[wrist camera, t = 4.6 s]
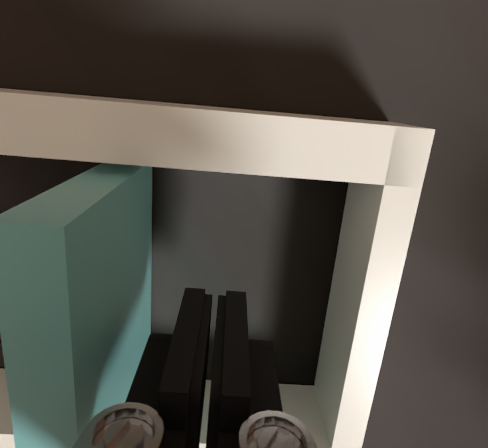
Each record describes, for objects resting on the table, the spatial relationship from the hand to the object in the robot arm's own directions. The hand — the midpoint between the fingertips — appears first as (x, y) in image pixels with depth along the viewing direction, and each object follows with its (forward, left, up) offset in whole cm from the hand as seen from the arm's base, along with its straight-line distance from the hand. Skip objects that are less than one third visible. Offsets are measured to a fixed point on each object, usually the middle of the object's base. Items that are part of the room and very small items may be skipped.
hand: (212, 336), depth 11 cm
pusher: (0, +5, -3) cm, 6 cm away
